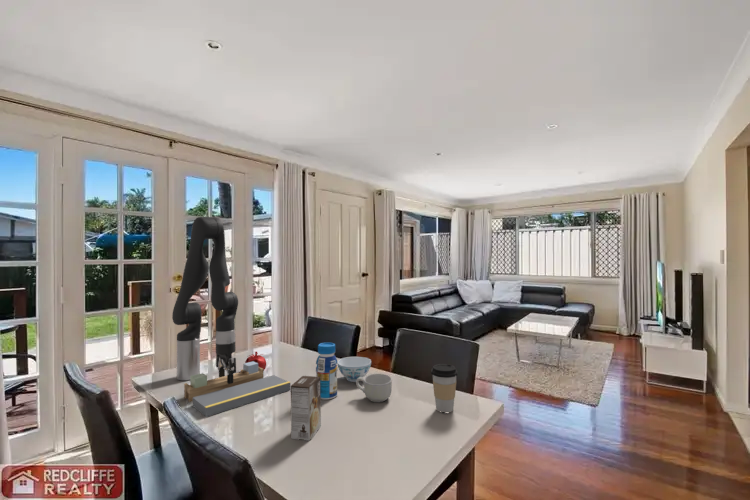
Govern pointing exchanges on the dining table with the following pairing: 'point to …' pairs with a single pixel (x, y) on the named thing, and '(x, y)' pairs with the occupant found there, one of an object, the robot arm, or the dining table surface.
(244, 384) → the plate
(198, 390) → the long wooden trough
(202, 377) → the block
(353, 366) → the chinaware
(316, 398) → the coffee box
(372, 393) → the teacup
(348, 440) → the dining table surface
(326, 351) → the beverage bottle
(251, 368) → the pale blue block
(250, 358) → the pomegranate
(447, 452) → the dining table surface
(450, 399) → the coffee cup
